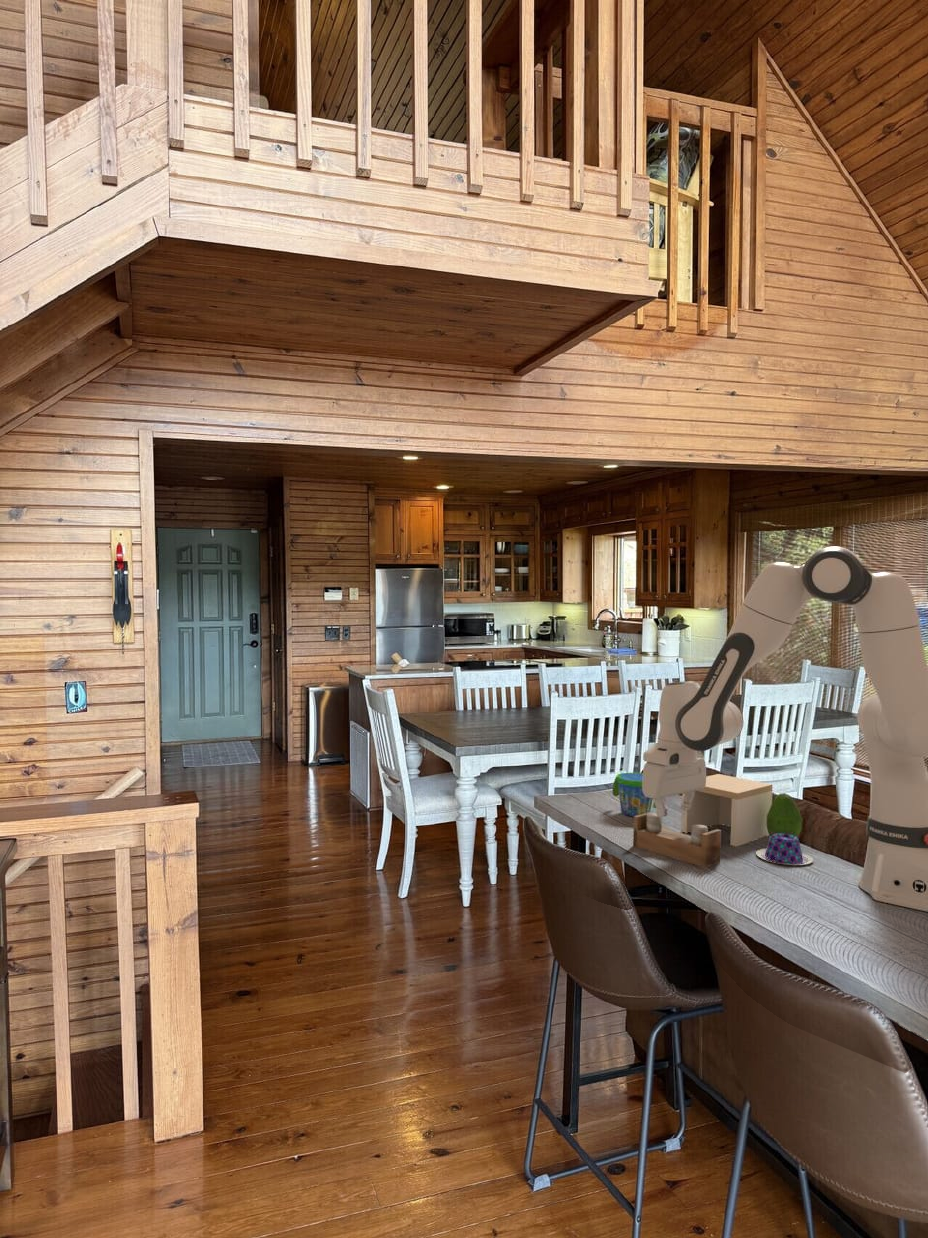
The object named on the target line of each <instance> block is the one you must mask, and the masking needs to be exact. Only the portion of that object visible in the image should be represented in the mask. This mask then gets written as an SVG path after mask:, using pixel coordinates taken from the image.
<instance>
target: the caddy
mask: <svg viewBox="0 0 928 1238" xmlns="http://www.w3.org/2000/svg"><path fill="white" fill-rule="evenodd" d="M662 824H663V817H659V816H657V813H656V812H655V813H654V812H651V811H650V812H649V813H645V814H641V815H637V816H634V817H633V839H632V840H633V841H632V844H633V845H632V846H633V847H635V848H639V849H642V850H646V851H649V852H651V853H656V854H659V855H662V856H665V855H667V856H666V857H669V856H670V857H669V858H672V857H674V858H673V859H676V858H678V859H677V860H679V859H680V861H682V860H683V862H685V863H690V864H694V865H696V866H699V867H703V868H706V867H709V865H710V866H712V865H714V864H718V863H720V862H721V852H722V851H721V847H722V845H721V844H722V830H721V829H718V828H717V829H713V830H711V831H709V830H708V828H709V827H707V826H704V825H692V831H691V832H690V833H691V835H689V834H687V833H683V832H677V831H675V830H674V831H673V830H670V829H667V828H663V825H662ZM717 862H718V863H717Z"/></svg>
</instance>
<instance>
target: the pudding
mask: <svg viewBox="0 0 928 1238" xmlns="http://www.w3.org/2000/svg"><path fill="white" fill-rule="evenodd" d="M755 855H756V856H758V858H760V859H761V860H765V861H767V862H771V863H774V864H777V863H778V862H779V863H778V864H779V865H780V864H781V865H783V864H785V866H787V865H788V866H804V865H809V864H811V863H813V862H814V859H813V857H812V856H811V855H808V854H806V853H804V852H802V848H801V843H800V840H799V838H798V837H796V836H793V835H789V834H782V833H781V834H774V835H772V836H770V837H769V840H768V843H767V847H766V848H762V849H758V850H757V851H756V852H755ZM761 855H764V857H765V856H766V857H765V858H766V859H767V857H768V859H770V861H769V860H766V859H765V858H763V857H762V856H761ZM803 856H804V857H806V858H808V860H809V861H808V862H807V863H804V864H801V862H804V860H803ZM771 860H773V862H772V861H771ZM776 862H777V863H776ZM788 863H789V864H788Z"/></svg>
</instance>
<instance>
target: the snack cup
mask: <svg viewBox="0 0 928 1238" xmlns="http://www.w3.org/2000/svg"><path fill="white" fill-rule="evenodd" d="M642 777H643V772H622V773H618V774H617V775H616V777H615V778H614V781H613V784H612V792H611V793H612V795H613V796H614V797H618V796H619V804H620V813H621V814H623V815H626V816H630V817H633V818H634V816H637V815H641V814H645V813H649V812H651V811H652V807H653V809H657V808H656V805H655V803H654V802H653V801H654V799H653V798H649V797H645V796H644V794H643V791H642ZM652 804H653V805H652Z"/></svg>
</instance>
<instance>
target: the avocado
mask: <svg viewBox="0 0 928 1238" xmlns="http://www.w3.org/2000/svg"><path fill="white" fill-rule="evenodd" d="M766 825H767V830H768V833H769V836H770V837H771V836H772V835H774V834H781V833H782V834H789V835H793V836H796V837H797V838H798V837H799V836H800V834H801V831H802V829H803V818H802V815H801V812H800V809H799V807H798V806H797V803H796V802H795V799H794V798H793V797H792V796H791V795H789V794H787V793H785V792H784V793H779V794H777V795H775V797H774V798H773V799H772V805H771V807H770V810H769V812H768V814H767V822H766Z"/></svg>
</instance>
